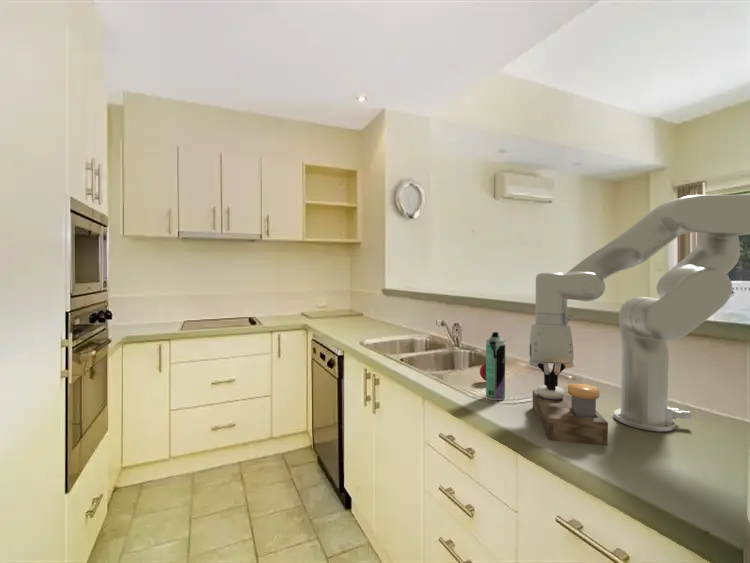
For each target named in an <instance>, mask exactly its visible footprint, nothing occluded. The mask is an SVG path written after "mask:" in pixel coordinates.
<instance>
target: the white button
mask: <svg viewBox="0 0 750 563" xmlns="http://www.w3.org/2000/svg"><path fill="white" fill-rule="evenodd" d="M536 390H537V394H538V395H539V396H541V398H542V400H556V401H561V399H562V398H564V392H565V390H564V389H563V388H562V387H560V386H556V390H548V388H547V387H546V386H545V385H544V384H541V385H537V387H536Z"/></svg>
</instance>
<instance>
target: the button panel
mask: <svg viewBox="0 0 750 563" xmlns="http://www.w3.org/2000/svg"><path fill="white" fill-rule="evenodd" d="M571 401H572V395H570V394H569V393H568V391H566V392H565V391H564V398H562V399H561V401H556V400H542V398H541V396H539V395H538V394H537V389H536V390H535V389H532V409H533V411H534V413H535V415H536V418H537V420H538V421H539V424H540V425H541V427H542V429H543V431H544V433H545V435H546V437H547V439H548V440H549V441H557V440H558V441H560V442H568V443H569V442H570V443H580V444H590V445H591V444H592V445H602V446H603V445H604V446H608V444H609V442H608V441H609V440H608V439H609V423H608V421H607V420H606V419H605V417H603V416H602V414H600V412H598V410H596V418H593V417H580V416H574V415H573V413H572V412H571Z"/></svg>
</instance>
